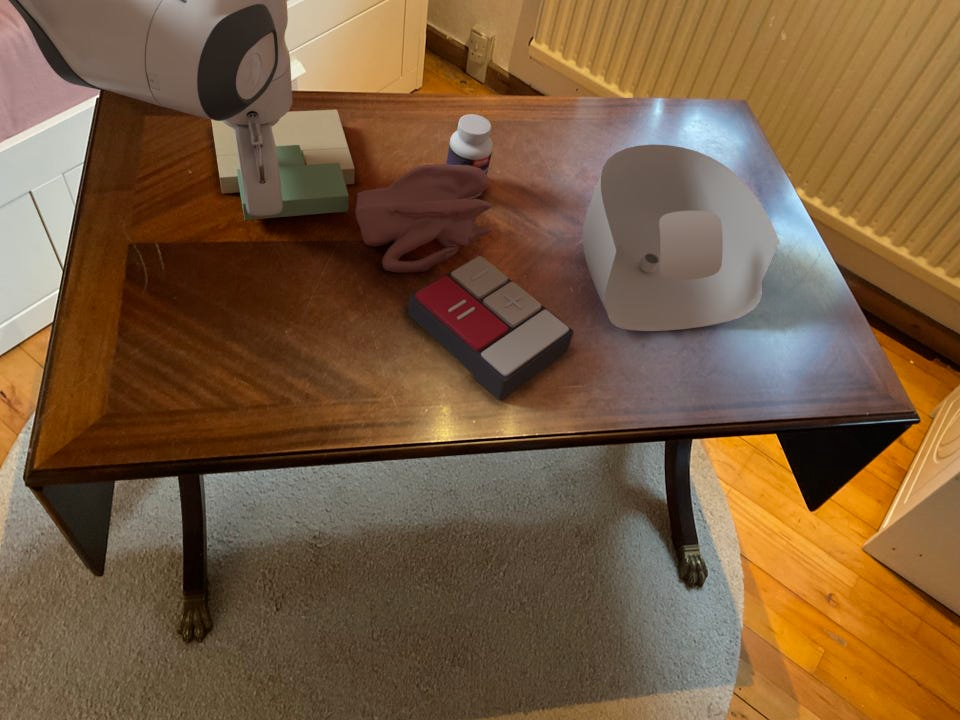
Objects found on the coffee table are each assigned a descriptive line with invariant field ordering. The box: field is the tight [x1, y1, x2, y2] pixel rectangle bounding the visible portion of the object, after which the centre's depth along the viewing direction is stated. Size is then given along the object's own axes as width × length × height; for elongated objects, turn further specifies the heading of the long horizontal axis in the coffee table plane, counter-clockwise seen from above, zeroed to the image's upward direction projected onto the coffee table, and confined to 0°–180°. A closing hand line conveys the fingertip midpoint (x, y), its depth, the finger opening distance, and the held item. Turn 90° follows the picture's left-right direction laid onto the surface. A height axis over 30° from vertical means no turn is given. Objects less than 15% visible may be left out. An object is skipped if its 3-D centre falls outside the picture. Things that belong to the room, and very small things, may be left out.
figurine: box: [354, 163, 494, 274], centre depth 87 cm, size 12×10×15 cm
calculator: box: [407, 255, 574, 401], centre depth 81 cm, size 11×4×15 cm
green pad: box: [237, 145, 350, 221], centre depth 89 cm, size 12×10×2 cm
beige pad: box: [210, 109, 356, 194], centre depth 94 cm, size 16×12×2 cm
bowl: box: [582, 144, 780, 332], centre depth 88 cm, size 20×19×12 cm
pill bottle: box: [445, 113, 494, 199], centre depth 93 cm, size 5×5×10 cm
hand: (258, 190), depth 86 cm, fingers closed on green pad, 6 cm apart
